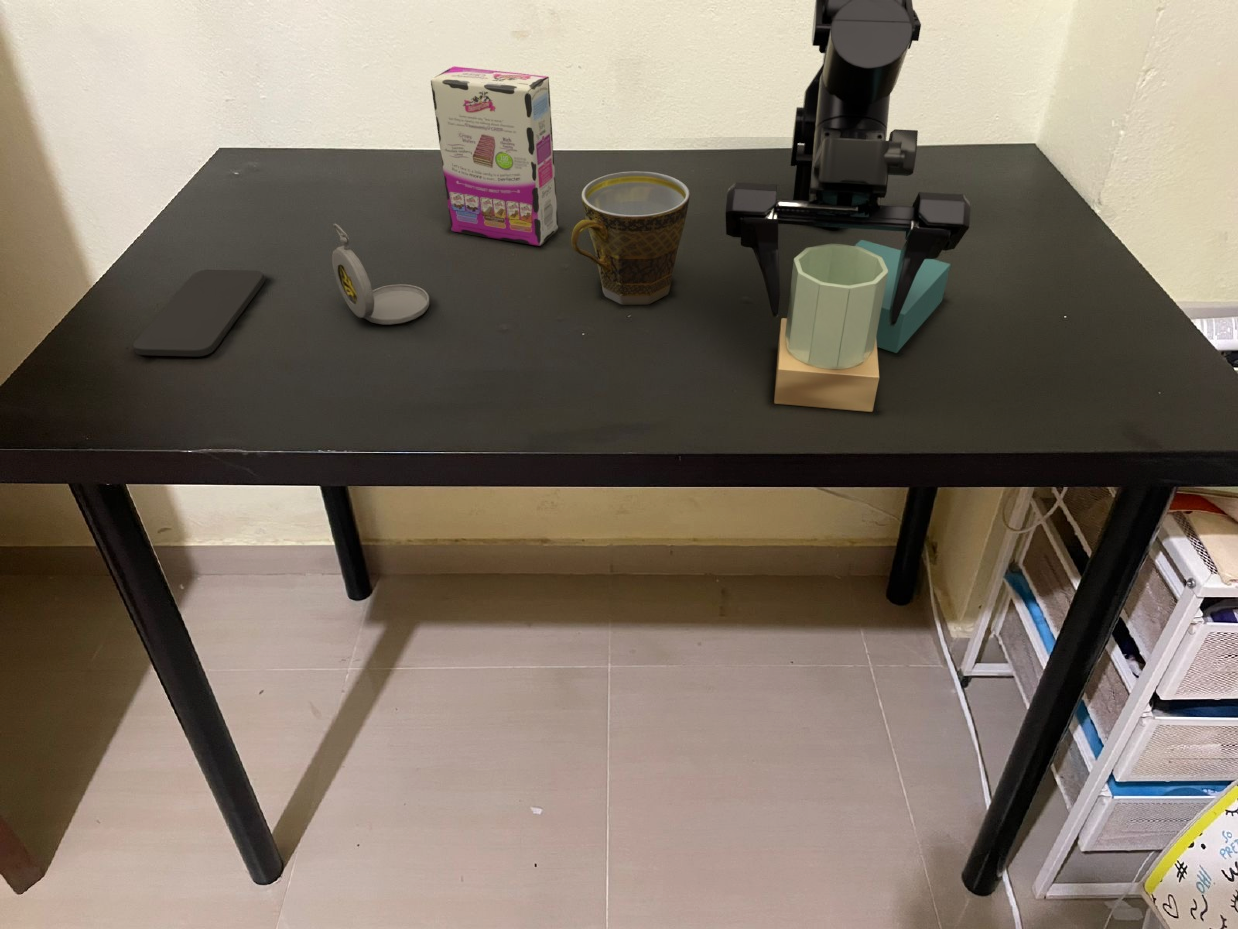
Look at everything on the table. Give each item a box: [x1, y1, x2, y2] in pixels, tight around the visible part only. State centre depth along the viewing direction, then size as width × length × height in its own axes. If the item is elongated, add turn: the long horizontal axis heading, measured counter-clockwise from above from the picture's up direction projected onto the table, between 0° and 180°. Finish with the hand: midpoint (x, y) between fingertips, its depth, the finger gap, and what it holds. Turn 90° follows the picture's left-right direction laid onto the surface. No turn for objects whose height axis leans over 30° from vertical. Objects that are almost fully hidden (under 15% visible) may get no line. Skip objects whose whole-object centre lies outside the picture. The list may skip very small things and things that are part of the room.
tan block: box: [773, 317, 880, 413], centre depth 80 cm, size 8×8×4 cm
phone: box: [132, 269, 266, 357], centre depth 90 cm, size 7×1×15 cm
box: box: [854, 239, 951, 354], centre depth 88 cm, size 9×11×4 cm
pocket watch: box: [331, 222, 430, 326], centre depth 87 cm, size 8×8×10 cm
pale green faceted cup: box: [785, 243, 888, 369], centre depth 76 cm, size 7×7×8 cm
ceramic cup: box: [570, 171, 691, 306], centre depth 89 cm, size 13×10×10 cm
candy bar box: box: [430, 66, 559, 247], centre depth 98 cm, size 11×5×16 cm, turn 68°
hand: (833, 320), depth 75 cm, fingers open, 9 cm apart
